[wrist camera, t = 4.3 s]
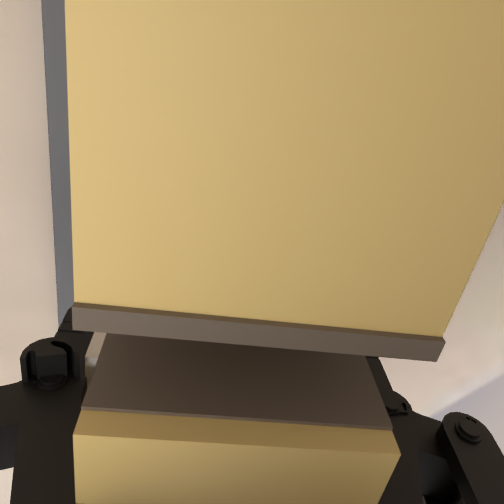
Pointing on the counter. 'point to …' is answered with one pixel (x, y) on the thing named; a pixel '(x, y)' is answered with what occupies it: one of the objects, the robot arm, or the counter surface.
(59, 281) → the mat
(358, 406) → the stub
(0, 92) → the counter surface
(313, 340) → the tall yellow box
